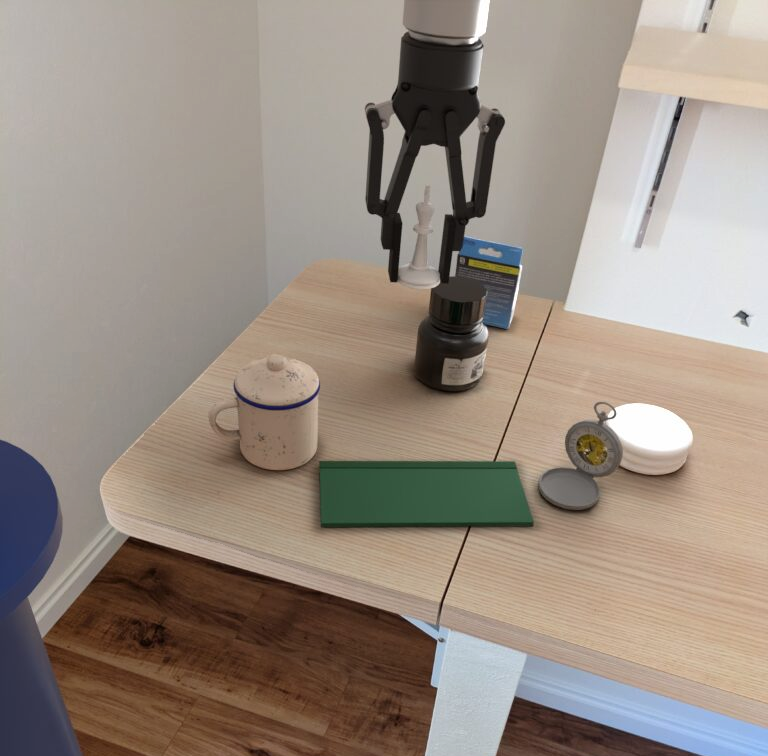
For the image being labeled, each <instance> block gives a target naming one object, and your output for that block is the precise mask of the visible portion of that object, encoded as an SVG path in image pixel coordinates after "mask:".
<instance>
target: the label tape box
mask: <svg viewBox="0 0 768 756" xmlns="http://www.w3.org/2000/svg"><path fill="white" fill-rule="evenodd" d="M489 249H491V250H492V251H493V252H496V253H499V256H497V255H491V254H488V253H482V252H480V250H486V251H488V250H489ZM523 251H524V248H523V247H520V246H513V245H509V244H504V243H499V242H494V241H489V240H486V239H485V240H484V239H479V238H475V237H470V236H467V235H464V241H463V247H462V249H461V251H457V254H456V264H455V274H454V276H459V277H467V278H470V279H473V280H476V281H478V282H479V283H481V284H483V285H484V286H485V288H486V289H487V297H486V304H485V310H484V316H483V320H482V322H483V323H484V324H485V326H490V327H491V326H492V327H495V328H499V329H505V330H509V329H510V327H511V323H512V321H513V318H514V314H515V309H516V304H517V298H518V294H519V288H520V281H521V276H522V271H523V265H522V264H521V262H522V257H523Z"/></svg>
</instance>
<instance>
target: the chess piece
mask: <svg viewBox="0 0 768 756" xmlns="http://www.w3.org/2000/svg"><path fill="white" fill-rule="evenodd" d="M430 190H431V186H430V185H425V187H424V193H423V196H424V197H423V201H420V202H417V204H416V205H415V212H416V216H417V220H418V223H417V224H414V225H413V226H412V227H413V228H412V230H413V232H414V233H417V237H416V238H417V239H416V242H415V248H414V252H413V255H412V259H411V261H409V263H406V264H403V265H401V266H399V269H398V281H397V282H396V283H398V284H400V285H402V286H403V287H405V288H408V289H413V290H431V288H434V287H436V286H437V285H439V283H440V273H439V272H438V269H437V268H435V267H433V266H431V265H430V263H429V262H428V235H430V234H432V233H433V232H434V227H433V226H432V225H430V221H431V219H432V217H433V216H434V213H435V210H436V206H435V205H434V204H433V203H431V202H429V201H430V193H431V191H430Z"/></svg>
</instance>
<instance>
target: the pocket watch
mask: <svg viewBox="0 0 768 756" xmlns="http://www.w3.org/2000/svg"><path fill="white" fill-rule="evenodd" d="M599 405H606V406H608V407H609V408H611V409H612V410H613V411H614V415H613V416H612V417H608V414H607V411H606V410H601V412H599V411H598V408H597V407H598V406H599ZM615 408H616V407H614V406H613V405H612V404H610V403H609V402H606V401H598V402H596V403H594V405H593V410H594V413H595V414H596V417H597V419H598V420H597V419H583V420H580V421H577V422H576V423H574V424H572V425H571V427H569V429H568V430H567V432H566V435H565V437H564V447H565V452H566V454H567V456H568V459H569V461H570V462H571V463H572V464H573V466H574V467H575V468H574V467H567V466H558V467H557V466H556V467H553V468H549V469H546V470H545V471H544V472H543V473H541V475H540V477H539V479H538V490H539V492H540V494H541V495H542V497H543V498H545V500H547V502H550V503H551V504H553V505H554V506H556V507H559V508H562V509H564V510H571V511H572V510H573V511H576V510H577V511H578V510H579V511H580V510H584V509H589V508H591V507H592V506H594V505H595V504H597V502H598V501H599V499H600V496H601V487H600V485H599V484H598V482H597V481H596V479H594V478H604V477H608V476H610V475H612V474H613V473H614V472H615V471H616V470H617V469H618V468H619V467H620V463H621V460H622V457H623V449H622V445H621V441H620V440H619V438H618V436H617V434H616V433H615V432H614V431H613V430H612V429H611V428H610V427H609V426H608V425H606V424H605V421H607V420H611V419H614V418H615V417H616V414H617V413H616V410H615ZM603 447H606V449H607V451H606V449H605V448H604V449H605V450H603ZM604 457H606V459H605V458H604Z"/></svg>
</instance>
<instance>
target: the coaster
mask: <svg viewBox="0 0 768 756" xmlns="http://www.w3.org/2000/svg"><path fill="white" fill-rule="evenodd" d="M614 408H615V410H616V413H617V414H616V417H615V418H614V419H611V420H607V421H604V424H606V425H608V426H609V427H610V428H611V429H612V430H613V431H614V432H615V433H616V434H617V436H618V438H619V440H620V441H621V445H622V449H623V457H622V460H621V463H620V465H619V467H622V468H624V469H626V470H628V471H631V472H634V473H638V474H642V475H649V476H661V475H666V474H671V473H674V472H676V471H678V470H679V469H680V468H681V467H683V465H684V464H686V463H685V462H686V461H687V457H688V455H689V453H690V449H691V448H692V446H693V442H694V436H693V432H692V430H691V428H690V427H689V425H688V424H687V423H686V422H685V421H684V420H683V419H682V418H681V417H680V416H678V415H677V414H675V413H674V412H672V411H670V410H668V409H666V408H663V407H659V406H656V405H653V404H647V403H627V404H623V405H619V406H617V407H614ZM613 415H614V411H613V409H612V410H611V411H610V412H609V413H608V414H607V416H608V417H612V416H613ZM604 448H605V449H606V447H603V450H605V449H604ZM606 451H607V449H606Z"/></svg>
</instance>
